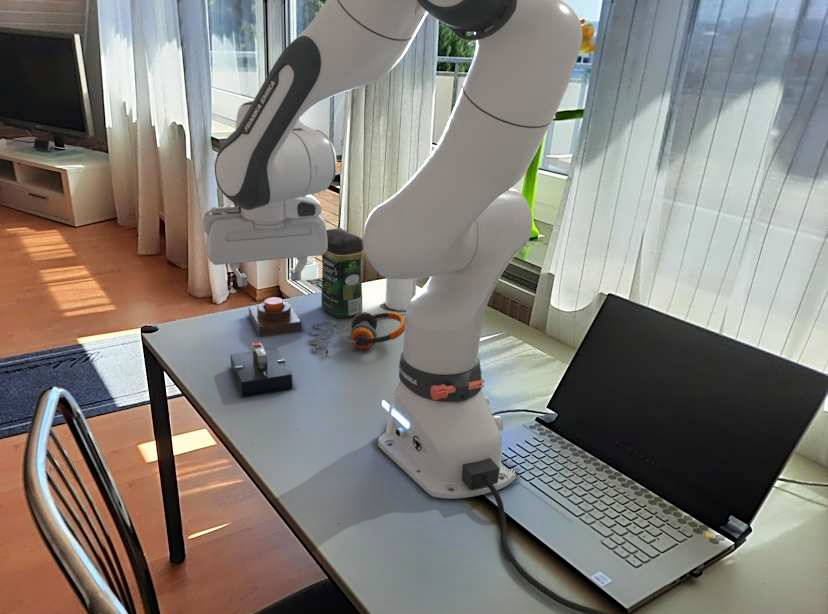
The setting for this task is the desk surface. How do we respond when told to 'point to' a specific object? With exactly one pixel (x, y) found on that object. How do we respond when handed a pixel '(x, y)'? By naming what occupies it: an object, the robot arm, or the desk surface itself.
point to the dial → (259, 356)
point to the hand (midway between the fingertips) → (269, 282)
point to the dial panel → (261, 373)
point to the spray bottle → (399, 293)
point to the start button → (273, 304)
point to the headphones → (364, 330)
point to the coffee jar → (342, 274)
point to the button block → (274, 320)
